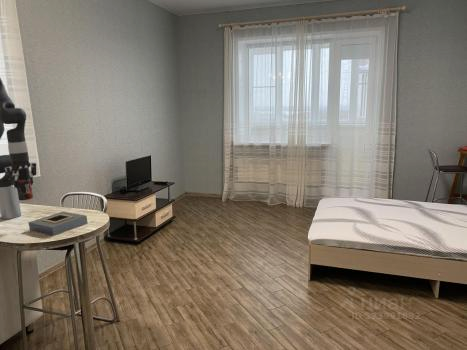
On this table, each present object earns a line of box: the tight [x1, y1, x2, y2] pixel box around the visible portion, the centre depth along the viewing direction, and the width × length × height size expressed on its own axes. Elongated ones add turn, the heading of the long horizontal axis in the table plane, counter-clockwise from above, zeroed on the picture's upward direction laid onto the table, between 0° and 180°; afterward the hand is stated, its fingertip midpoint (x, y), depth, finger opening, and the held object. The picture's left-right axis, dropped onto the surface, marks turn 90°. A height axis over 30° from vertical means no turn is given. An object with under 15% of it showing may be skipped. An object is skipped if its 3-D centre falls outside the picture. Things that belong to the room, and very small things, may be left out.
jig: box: [27, 211, 88, 237], centre depth 165 cm, size 18×18×4 cm
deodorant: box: [14, 168, 34, 201], centre depth 164 cm, size 6×6×15 cm
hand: (23, 186), depth 165 cm, fingers closed on deodorant, 6 cm apart
